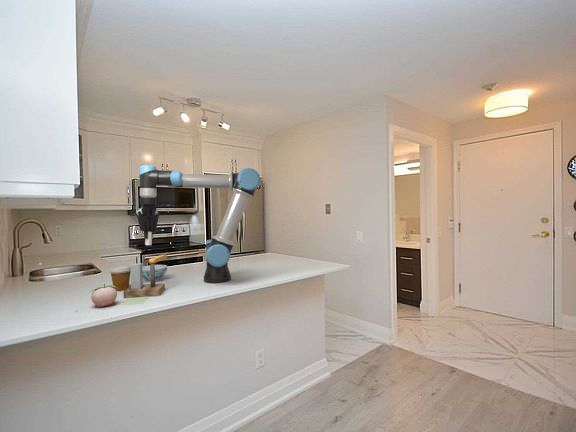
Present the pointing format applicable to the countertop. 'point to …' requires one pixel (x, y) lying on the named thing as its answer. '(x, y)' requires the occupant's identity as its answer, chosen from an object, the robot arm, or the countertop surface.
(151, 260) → the clip
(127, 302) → the mat
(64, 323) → the countertop surface
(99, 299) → the decorative fruit
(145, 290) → the socket block
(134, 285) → the gray square post
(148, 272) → the chinaware
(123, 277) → the disposable coffee cup
